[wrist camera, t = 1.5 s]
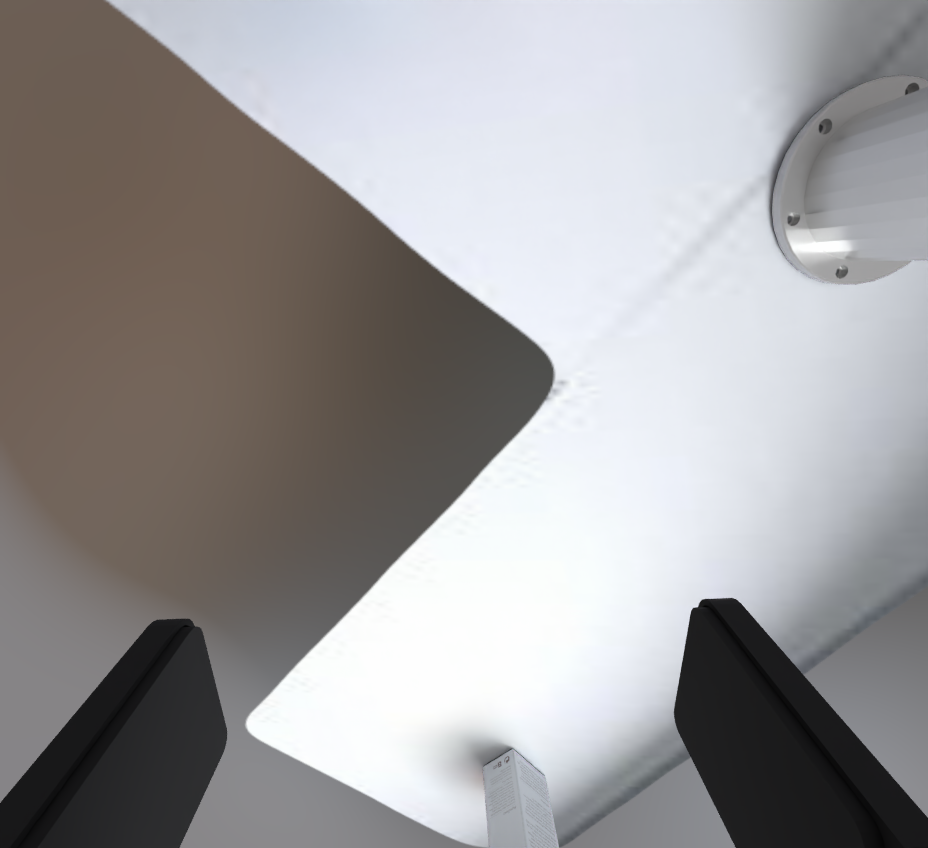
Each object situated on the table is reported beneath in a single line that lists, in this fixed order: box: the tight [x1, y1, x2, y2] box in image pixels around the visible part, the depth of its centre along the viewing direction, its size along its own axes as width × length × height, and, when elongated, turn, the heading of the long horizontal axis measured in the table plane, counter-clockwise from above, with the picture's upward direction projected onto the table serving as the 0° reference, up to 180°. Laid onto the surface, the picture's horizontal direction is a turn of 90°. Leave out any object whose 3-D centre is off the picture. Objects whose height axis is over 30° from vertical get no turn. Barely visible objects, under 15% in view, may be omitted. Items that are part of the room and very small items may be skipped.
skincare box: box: [483, 749, 559, 848], centre depth 43 cm, size 6×4×12 cm
